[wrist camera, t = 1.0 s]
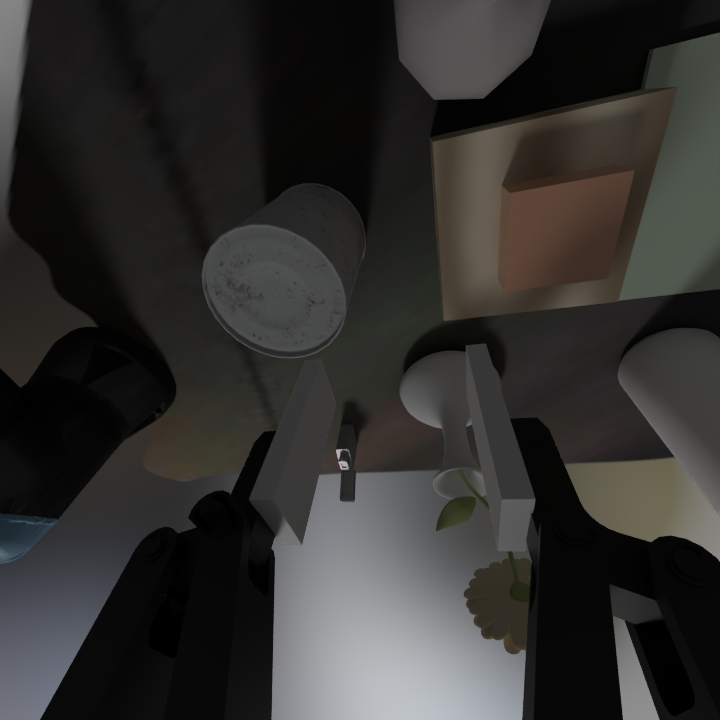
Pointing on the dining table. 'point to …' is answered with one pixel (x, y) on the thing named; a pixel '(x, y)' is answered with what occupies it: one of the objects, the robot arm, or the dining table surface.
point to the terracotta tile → (561, 227)
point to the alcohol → (680, 398)
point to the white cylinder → (287, 272)
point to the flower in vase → (467, 493)
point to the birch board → (528, 162)
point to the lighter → (347, 461)
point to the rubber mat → (682, 178)
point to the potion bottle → (466, 42)
